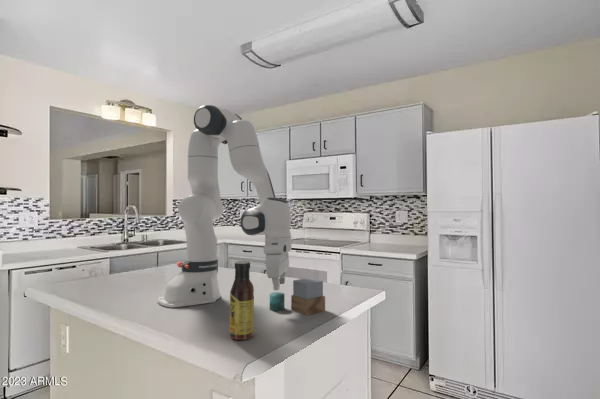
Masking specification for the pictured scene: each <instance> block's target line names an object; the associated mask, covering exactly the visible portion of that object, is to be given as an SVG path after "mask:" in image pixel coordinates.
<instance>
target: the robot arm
mask: <svg viewBox="0 0 600 399" xmlns="http://www.w3.org/2000/svg"><path fill="white" fill-rule="evenodd" d="M193 125H194V127H195V130H193V131H192V132H191V134H190V137H189V142H188V149H187V180H188V182H189V184H190V189H191V192H192V194H190V195H189V194H188V195H187V196H184V197H183V198H182V199H181V200H180V202H179V204H178V208H177V211H178V214H179V216H180V218H181V220H182V223H183V228H184V231H185V232H184V233H185V238H186V260H185V261H184V262H182V261H177V263H176V266H177V267H178V268H181V271H180V272H179V273H178V274H177V275H175V276H174V277H173V278H172V279H170V280H169V281H168V282H167V283H166V284H165V287H164V293H163V296H159V297H158V298H157V303H158V304H159V305H161V306H162V307H166V308H180V307H187V306H195V305H202V304H203V305H205V304H211V303H212V304H213V303H216V301H217V300H218V299H220V298H221V297H222V296H221V292H220V287H219V280H218V271H219V261H218V260H219V259H218V239H217V236H216V233H215V228H214V223H213V222H215V221H217V220H218V219H219V218H220V217H221V216H222V214H223V212H224V204H223V203H222V198H221V192H220V187H219V186H220V185H219V177H218V176H219V174H218V173H219V172H218V171H219V168H218V166H219V164H218V163H219V161H218V158H219V157H218V154H219V153H218V151H219V146H220V144H223V145H227V146H228V155H229V160H230V163H231V166H232V168H233V170H234V171H235V172H236V173H237V174H238V175H240V176H242V177H243V178H245V179H247V180H248V181H249V182H250V183H252V185H253V186H254V187H255V189H256V193H257V196H258V201H259V204H258V205H256V206H254V207H251V208H249V209H246V210H245V211H243V213H242V214H241V216H240V221H239V224H240V228H241V230H242V231H243V233H245V234H246V235H248V236H253V237H256V236H264V241H265V242H264V246H263V254H264V255H265V260H264V261H265V268H266V276H267V278H268V279H271V282H272V285H273V291H279V290H280V288H281V286H280V285H284V284H285V283H286V273H287V272H286V271H287V270H288V269H289V268H290V256H289V252H291V251H292V233H291V231H290V230H291V229H290V228H291V224H292V220H291V218H292V217H291V209H290V204H289V202H288V201H287V200H286V199H283V198H279V197H276V195H275V190H274V187H273V184H272V183H273V182H272V180H271V177H270V174H269V172H268V170H267V167H266V165H265V163H264V159H263V156H262V152H261V149H260V148H261V147H260V143H259V139H258V135H257V132H256V130H255V127H254V125H253V123H252V122H250V120H247V119H243V117H241V116H240V115H238V114H237V113H233V112H232V111H230V110H228V109H225V108H221V107H217V106H215V105H212V104H203V105H201V106H199V107H198V108H197V109H196V110H195V112H194V115H193Z"/></svg>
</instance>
